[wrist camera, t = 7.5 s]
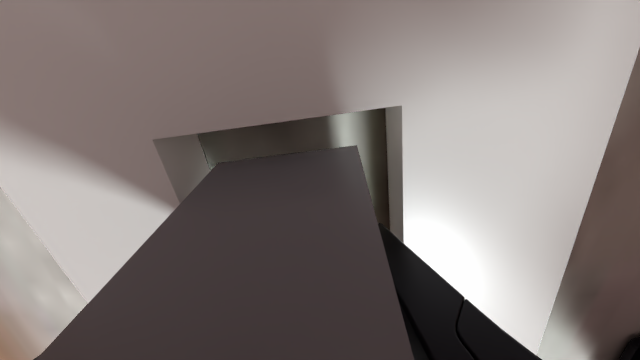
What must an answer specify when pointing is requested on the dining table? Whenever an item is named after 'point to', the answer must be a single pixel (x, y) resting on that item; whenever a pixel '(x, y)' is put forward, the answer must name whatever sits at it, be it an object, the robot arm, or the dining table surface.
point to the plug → (254, 273)
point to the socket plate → (315, 101)
